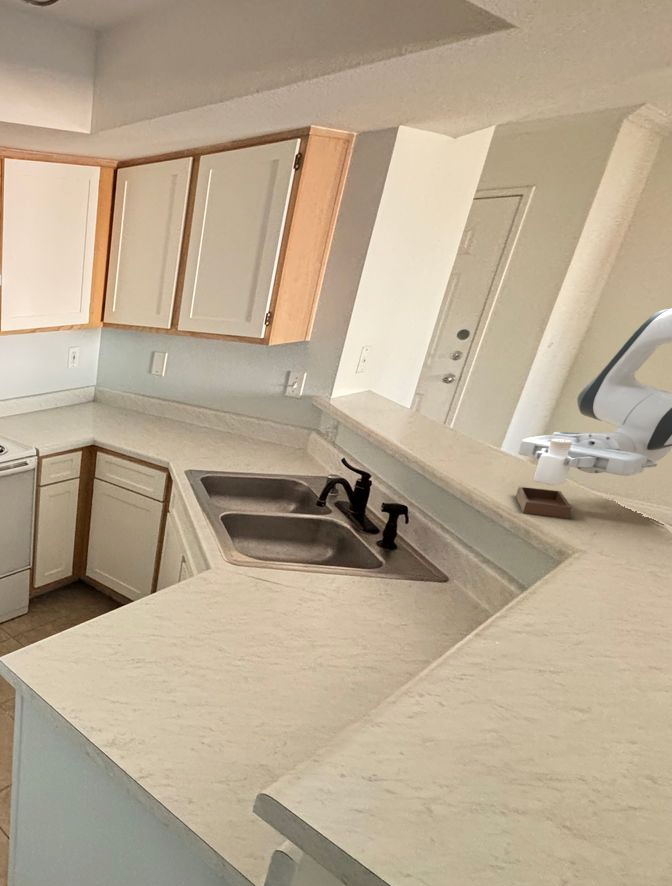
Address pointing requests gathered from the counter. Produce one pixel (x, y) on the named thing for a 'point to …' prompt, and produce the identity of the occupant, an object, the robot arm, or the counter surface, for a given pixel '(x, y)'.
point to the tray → (543, 502)
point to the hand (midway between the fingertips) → (552, 459)
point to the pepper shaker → (553, 463)
